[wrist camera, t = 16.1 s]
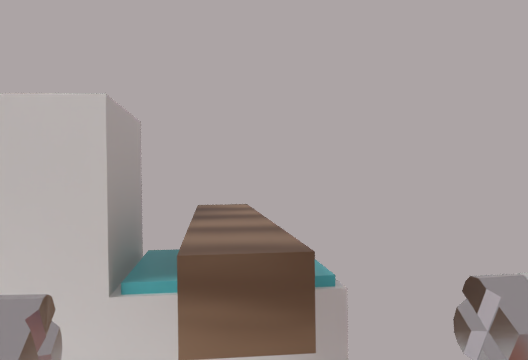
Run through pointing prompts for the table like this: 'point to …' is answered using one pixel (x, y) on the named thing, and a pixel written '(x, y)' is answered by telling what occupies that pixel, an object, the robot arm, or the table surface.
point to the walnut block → (243, 287)
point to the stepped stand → (102, 234)
